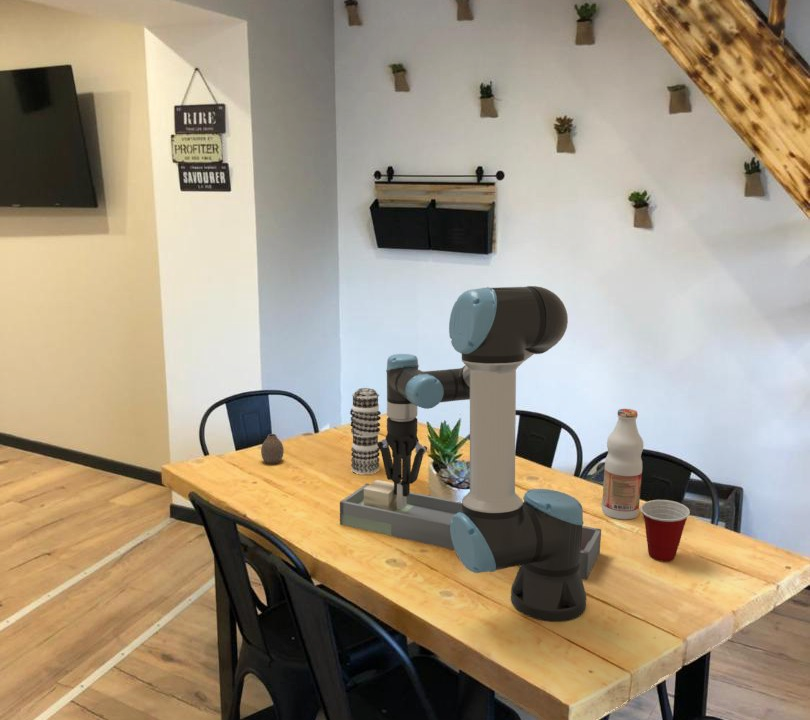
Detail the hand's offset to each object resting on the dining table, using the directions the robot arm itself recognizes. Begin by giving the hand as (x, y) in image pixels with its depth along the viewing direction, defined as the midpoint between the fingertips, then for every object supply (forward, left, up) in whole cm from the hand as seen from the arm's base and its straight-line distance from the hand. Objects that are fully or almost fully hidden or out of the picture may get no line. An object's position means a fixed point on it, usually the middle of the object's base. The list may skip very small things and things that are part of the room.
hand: (401, 507), depth 189 cm
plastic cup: (+12, -61, -5) cm, 63 cm away
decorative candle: (+30, +27, -5) cm, 40 cm away
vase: (+23, +56, -5) cm, 60 cm away
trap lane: (0, -17, -5) cm, 18 cm away
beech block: (0, +6, -2) cm, 6 cm away
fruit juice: (+33, -48, -5) cm, 59 cm away
